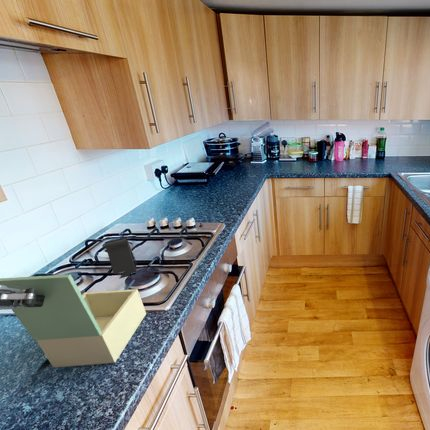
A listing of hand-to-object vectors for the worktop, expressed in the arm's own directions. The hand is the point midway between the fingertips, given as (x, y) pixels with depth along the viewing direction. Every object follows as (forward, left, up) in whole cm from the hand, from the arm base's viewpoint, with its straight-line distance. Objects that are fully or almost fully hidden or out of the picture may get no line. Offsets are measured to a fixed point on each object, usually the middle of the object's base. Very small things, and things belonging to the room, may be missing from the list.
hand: (39, 301), depth 56 cm
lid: (0, +2, -3) cm, 3 cm away
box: (0, +9, -21) cm, 23 cm away
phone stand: (-10, +39, -21) cm, 46 cm away
